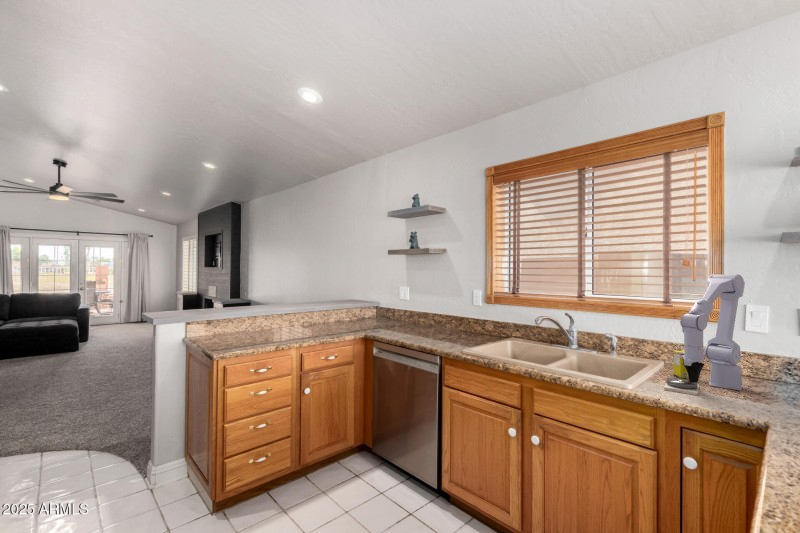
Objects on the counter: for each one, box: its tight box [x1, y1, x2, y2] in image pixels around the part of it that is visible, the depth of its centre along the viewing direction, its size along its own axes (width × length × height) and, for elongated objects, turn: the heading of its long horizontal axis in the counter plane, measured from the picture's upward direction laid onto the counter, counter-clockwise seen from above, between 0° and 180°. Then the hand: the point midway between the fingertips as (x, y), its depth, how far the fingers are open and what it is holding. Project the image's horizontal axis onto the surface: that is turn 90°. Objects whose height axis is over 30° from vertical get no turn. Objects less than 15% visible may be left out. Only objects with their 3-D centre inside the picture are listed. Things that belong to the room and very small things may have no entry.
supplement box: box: [672, 350, 687, 379], centre depth 159 cm, size 6×6×11 cm
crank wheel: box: [665, 373, 699, 389], centre depth 144 cm, size 10×10×5 cm
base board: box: [663, 382, 700, 396], centre depth 144 cm, size 10×13×1 cm
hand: (693, 381), depth 141 cm, fingers closed
